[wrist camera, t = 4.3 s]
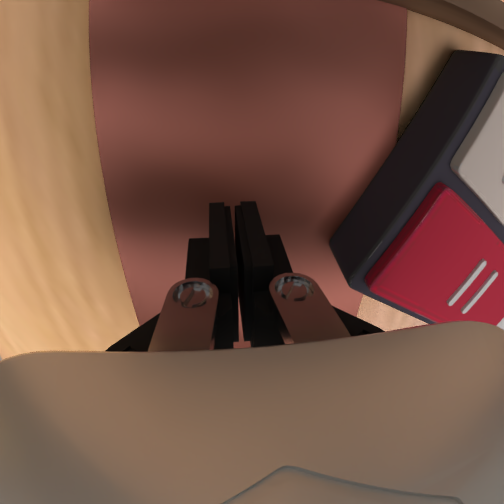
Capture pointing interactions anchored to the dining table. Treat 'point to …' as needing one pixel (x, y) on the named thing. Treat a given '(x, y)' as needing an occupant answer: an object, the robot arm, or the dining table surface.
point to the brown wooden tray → (249, 121)
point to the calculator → (437, 205)
